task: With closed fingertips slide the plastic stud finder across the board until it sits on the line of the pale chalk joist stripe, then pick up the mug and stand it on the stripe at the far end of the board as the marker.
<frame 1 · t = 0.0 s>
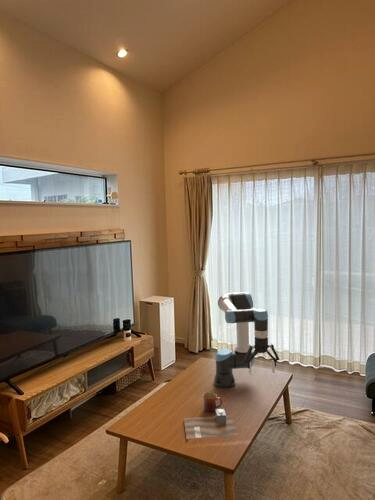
hand: (261, 372, 211), 28 cm above the table, fingers open, 13 cm apart
mug: (212, 412, 224), on the table
board: (210, 428, 207), on the table
finder: (220, 420, 212), point 1 cm above the table, touching board
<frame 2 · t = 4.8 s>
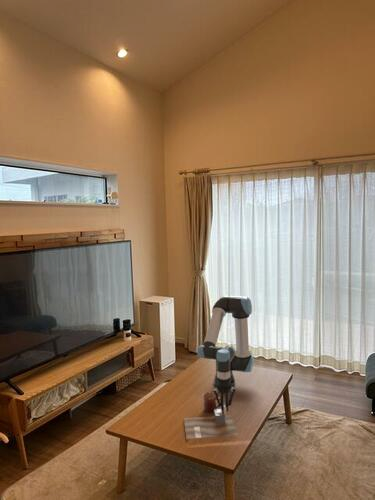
hand: (224, 416, 212), 3 cm above the table, fingers closed
finder: (219, 420, 212), point 1 cm above the table, touching board, gripper
everything else where it was.
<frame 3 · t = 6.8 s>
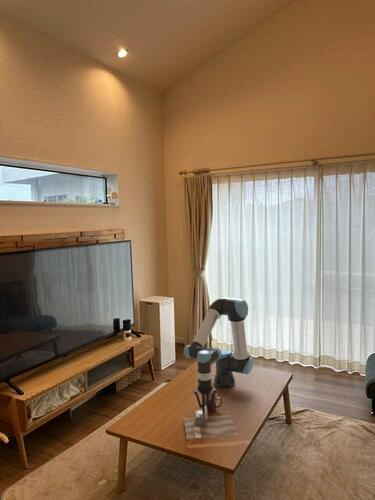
hand: (205, 418, 211), 3 cm above the table, fingers closed
finder: (200, 421, 211), point 1 cm above the table
everything else where it was.
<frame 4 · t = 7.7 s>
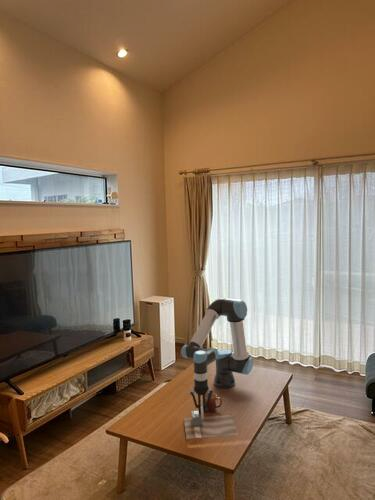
hand: (202, 418, 211), 3 cm above the table, fingers closed
finder: (196, 422, 211), point 1 cm above the table, touching board, gripper
everything else where it was.
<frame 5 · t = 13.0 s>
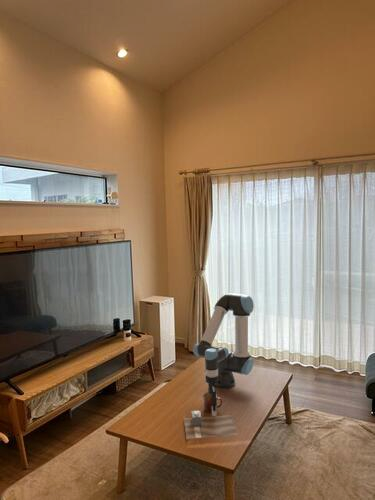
hand: (212, 411, 222), 1 cm above the table, fingers open, 11 cm apart
mug: (212, 412, 224), on the table, touching gripper
finder: (196, 422, 211), point 1 cm above the table, touching board
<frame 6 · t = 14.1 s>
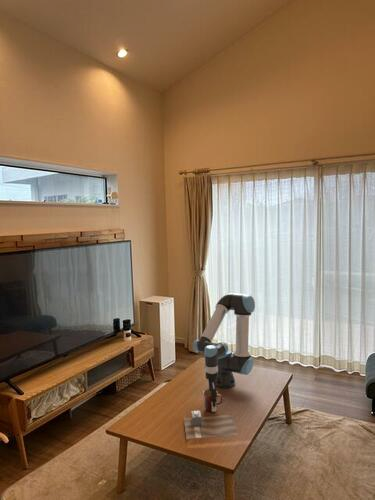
hand: (213, 407, 224), 3 cm above the table, fingers closed on mug, 7 cm apart
mug: (213, 409, 223), point 2 cm above the table, touching gripper
everything else where it was.
when the fingers open (2 cm above the table, at t = 19.0 s): mug stays where it is, resting on board.
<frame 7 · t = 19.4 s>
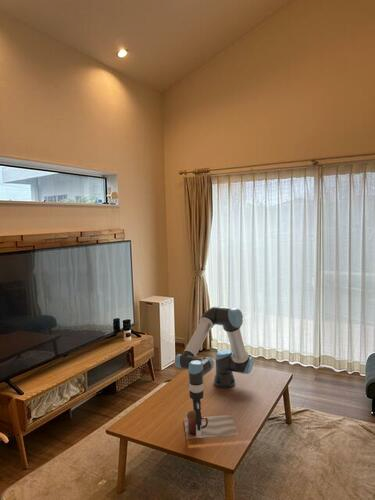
hand: (197, 428, 201), 4 cm above the table
mug: (197, 433, 200), point 1 cm above the table, touching board
finder: (196, 422, 211), point 1 cm above the table, touching gripper
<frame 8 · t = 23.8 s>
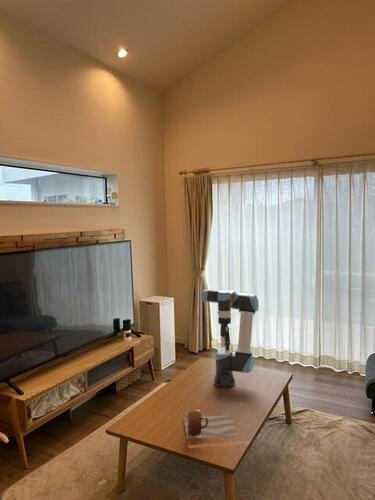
hand: (225, 351, 223), 37 cm above the table, fingers open, 13 cm apart
finder: (196, 421, 211), point 1 cm above the table, touching board
everything else where it was.
at the end: finder inside the target area (1.0 cm from its centre), point 1.2 cm above the table; mug inside the target area (1.1 cm from its centre), point 1.1 cm above the table; mug tilted 0° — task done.
